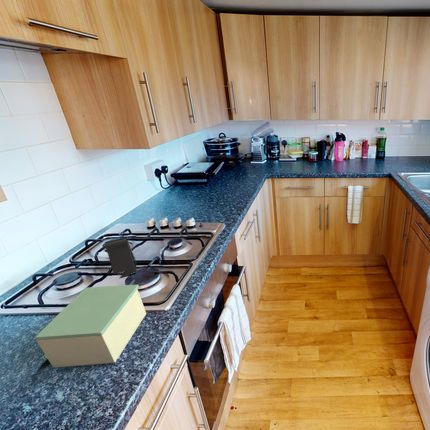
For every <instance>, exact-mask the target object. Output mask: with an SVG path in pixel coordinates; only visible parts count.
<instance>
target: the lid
mask: <svg viewBox="0 0 430 430" xmlns="http://www.w3.org/2000/svg"><path fill="white" fill-rule="evenodd" d="M139 288H140V286H139V284H126V285H125V284H123V285H108V286H107V285H106V286H91V287H84V289H82V290H81V292H80V293H78V294H77V296H75V297H74V298H73V299H72V301H70V303H68V304H67V305H66V306H65V307H64V308H63V309H62V310H61V311H60V312H59V313H58V314H57V315H56V316H55V317H54V318H53V319H52V320H51V321H50V322H49V323H48V324H47V325H46V326H45V327H44V328H43V329H42V330H41V331H40V332H39V333H38V334H37V335H35V337H34V338H35V341H37V340H45V339H59V338H73V337H87V336H101V335H103V333H104V332H105V331H106V329H107V328H108V327H109V326H110V324H111V323H112V322H113V320H114V319H115V318H116V316H117V315H118V314H119V312H120V311H121V310H122V309H123V307H124V306H125V305H126V303H127V302H128V301H129V299H130V298H131V297H132V295H133V294H134V293H135V291H136V290H137V289H139Z"/></svg>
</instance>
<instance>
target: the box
mask: <svg viewBox="0 0 430 430" xmlns="http://www.w3.org/2000/svg"><path fill="white" fill-rule="evenodd" d="M138 289H139V288H138ZM138 289H137V290H136V291H135V293H134V294H133V295H132V297H131V298H130V299H129V301H128V302H127V303H126V305H125V306H124V307H123V309H122V310H121V311H120V312H119V314H118V315H117V316H116V318H115V319H114V320H113V322H112V323H111V324H110V326H109V327H108V328H107V329H106V331H105V332H104V333H103V335H101V336H87V337H73V338H59V339H45V340H36V342H37V344H38V345H39V347H40V349H41V350H42V352H43V354H44V355H45V357H46V358H47V360H48V362H49V363H50V365H51V366H52V368H53V369H54V368H66V367H80V366H92V365H93V366H94V365H103V364H105V365H107V364H115V363H116V362H117V361H118V359H119V358H120V356H121V354H122V353H123V352H124V349H125V348H126V346H127V345H128V344H129V342H130V340H131V338H132V337H133V336H134V334H135V332H136V331H137V329H138V328H139V327H140V324H141V323H142V321H143V320H144V318H146V317H145V316H146V315H147V311H146V309H145V306H144V303H143V301H142V297H141V295H140V292H139V290H138Z"/></svg>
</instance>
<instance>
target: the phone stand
mask: <svg viewBox="0 0 430 430" xmlns="http://www.w3.org/2000/svg"><path fill="white" fill-rule="evenodd" d="M104 247H105V250H106V253H107V256H108V259H109V263H110V265H111V268H112V269H111V270H112V273H113V275H116V274H121V275H120V276H119V279H122V278H125V277H130V276H131V275H130V274H131V273H133V272H137V260H136V258H135V255H134V252H133V250H132V247H131V245H130V243H129V240H128V237H127V236H126V237H122V238H117V239H113V240H108V241H104ZM129 275H130V276H129Z"/></svg>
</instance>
